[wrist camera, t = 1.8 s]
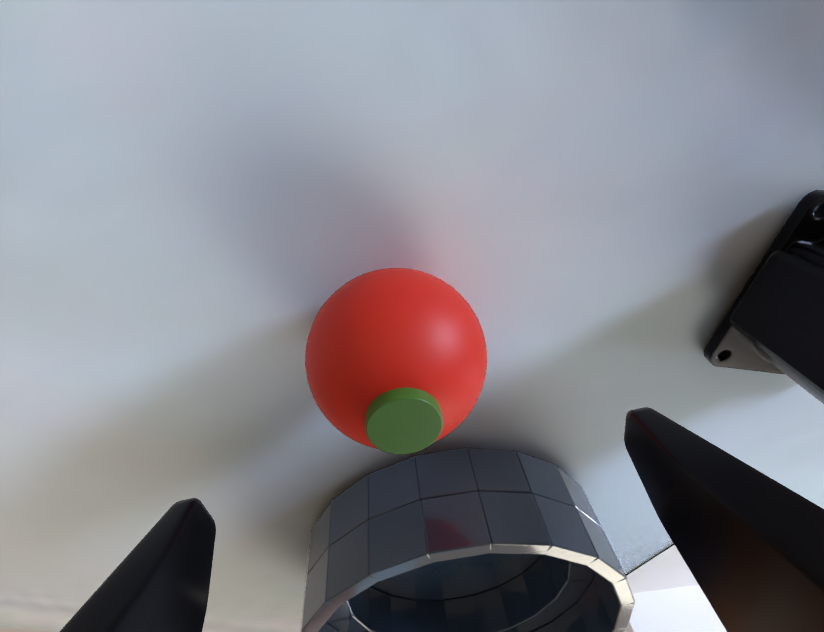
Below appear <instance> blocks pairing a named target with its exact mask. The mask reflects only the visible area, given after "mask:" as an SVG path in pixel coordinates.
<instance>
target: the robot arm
mask: <svg viewBox="0 0 824 632" xmlns="http://www.w3.org/2000/svg"><path fill="white" fill-rule="evenodd" d="M818 206H819V207H818ZM817 207H818V208H817ZM816 208H817V209H816ZM815 210H816V211H815ZM704 357H705V358H706V359H707V360H708V361H709V362H710V363H712V364H713V365H715V366H719V367H728V368H736V369H745V370H753V371H762V372H770V373H779V374H786V375H787V376H789V377H790V378H791V379H792V380H794V381H795V382H796V383H797V384H799V385H800V386H801V387H803V388H804V389H805V390H806V391H808V392H809V393H810V394H812V395H813V396H814V397H815V398H817V399H818V400H819V401H821V402H822V403H823V404H824V190H816V191H813V192H811V193H809V194H808V195H806V196H805V197H803V199H802V200H801V201H800V202H799V203H798V205H797V207H796V208H795V210H794V211H793V213H792V214H791V216H790V217H789V219H788V221H787V222H786V224H785V225H784V227H783V228H782V230H781V231H780V233H779V234H778V236H777V238H776V239H775V241H774V242H773V244H772V245H771V247H770V248H769V250H768V251H767V253H766V255H765V256H764V258H763V259H762V261H761V262H760V264H759V265H758V267H757V268H756V270H755V272H754V273H753V275H752V276H751V278H750V279H749V281H748V282H747V284H746V286H745V287H744V289H743V290H742V292H741V293H740V295H739V296H738V298H737V299H736V301H735V303H734V304H733V306H732V307H731V309H730V310H729V312H728V313H727V315H726V316H725V318H724V320H723V321H722V323H721V324H720V326H719V327H718V329H717V330H716V332H715V333H714V335H713V337H712V338H711V340H710V341H709V343H708V344H707V346H706V347H705V350H704ZM624 441H625V446H626V449H627V451H628V453H629V455H630V457H631V460H632V462H633V464H634V466H635V468H636V470H637V472H638V475H639V477H640V479H641V481H642V483H643V485H644V487H645V490H646V492H647V494H648V496H649V498H650V500H651V502H652V504H653V507H654V509H655V511H656V513H657V515H658V517H659V519H660V521H661V522H662V524H663V526H664V528H665V529H666V531H667V533H668V535H669V536H670V538H671V540H672V541H673V543H674V545H675V546H676V548H677V550H678V551H679V553H680V555H681V556H682V558H683V560H684V561H685V563H686V564H687V566H688V568H689V569H690V571H691V573H692V574H693V576H694V578H695V579H696V581H697V583H698V584H699V586H700V588H701V589H702V591H703V593H704V594H705V596H706V598H707V599H708V601H709V603H710V604H711V606H712V608H713V609H714V611H715V613H716V614H717V616H718V618H719V619H720V621H721V623H722V624H723V626H724V628H725V629H726V631H727V632H824V509H822V508H821V507H819V506H817V505H816V504H814V503H812V502H810V501H809V500H807V499H805V498H804V497H802V496H800V495H799V494H797V493H795V492H793V491H792V490H790V489H788V488H787V487H785V486H783V485H781V484H780V483H778V482H776V481H775V480H773V479H771V478H769V477H768V476H766V475H764V474H763V473H761V472H759V471H758V470H756V469H754V468H752V467H751V466H749V465H747V464H746V463H744V462H742V461H740V460H739V459H737V458H735V457H734V456H732V455H730V454H728V453H727V452H725V451H723V450H722V449H720V448H718V447H716V446H715V445H713V444H711V443H710V442H708V441H706V440H705V439H703V438H701V437H699V436H698V435H696V434H694V433H693V432H691V431H689V430H687V429H686V428H684V427H682V426H681V425H679V424H677V423H675V422H674V421H672V420H670V419H669V418H667V417H665V416H664V415H662V414H660V413H658V412H657V411H655V410H653V409H651V408H648V407H645V408H639V409H634V410H630V411H629V412H628V413H627V416H626V425H625V434H624ZM215 534H216V526H215V522H214V520H213V518H212V517H211V515H210V514H209V512H208V511H207V510H206V508H205V507H204V505H203V504H202V502H201V501H200V500H199V499H197V498H192V499H187V500H182V501H178V502H176V503H175V504H174V505H173V506H172V507H171V508H170V509H169V510H168V511H167V512H166V513H165V515H164V516H163V517H162V518H161V519H160V520H159V521H158V522H157V523H156V525H155V526H154V527H153V528H152V529H151V530H150V531H149V532H148V534H147V535H146V536H145V537H144V538H143V539H142V540H141V541H140V542H139V544H138V545H137V546H136V547H135V548H134V549H133V550H132V551H131V553H130V554H129V555H128V556H127V557H126V558H125V559H124V560H123V561H122V563H121V564H120V565H119V566H118V567H117V568H116V569H115V570H114V572H113V573H112V574H111V575H110V576H109V577H108V578H107V579H106V580H105V582H104V583H103V584H102V585H101V586H100V587H99V588H98V589H97V591H96V592H95V593H94V594H93V595H92V596H91V597H90V598H89V599H88V601H87V602H86V603H85V604H84V605H83V606H82V607H81V608H80V610H79V611H78V612H77V613H76V614H75V615H74V616H73V617H72V618H71V620H70V621H69V622H68V623H67V624H66V625H65V626H64V627H63V629H62V630H61V631H60V632H202V628H203V623H204V618H205V613H206V608H207V601H208V594H209V585H210V577H211V568H212V560H213V551H214V543H215Z"/></svg>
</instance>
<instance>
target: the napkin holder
mask: <svg viewBox="0 0 824 632" xmlns="http://www.w3.org/2000/svg"><path fill="white" fill-rule="evenodd" d="M626 577H627V580H628V583H629V585H630V588H631V591H632V594H633V596H634V599H635V605H634V608H633V611H632V615H631V618H630V621H629V625H628V627H627V629H626V630H625V631H624V632H727V631H726V629H725V628H724V626H723V624H722V623H721V621H720V619H719V618H718V616H717V614H716V613H715V611H714V609H713V608H712V606H711V604H710V603H709V601H708V599H707V598H706V596H705V594H704V593H703V591H702V589H701V588H700V586H699V584H698V583H697V581H696V579H695V578H694V576H693V574H692V573H691V571H690V569H689V568H688V566H687V564H686V563H685V561H684V560H683V558H682V556H681V555H680V553H679V551H678V550H677V548H676V546H675V545H673V546H672V547H670V548H669V549H667V550H666V551H664V552H662V553H661V554H659V555H658V556H656V557H655V558H653V559H652V560H650V561H648V562H647V563H645V564H644V565H642V566H641V567H639V568H638V569H636V570H634V571H633V572H631V573H630V574H628V575H627V576H626Z"/></svg>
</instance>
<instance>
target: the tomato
mask: <svg viewBox="0 0 824 632" xmlns="http://www.w3.org/2000/svg"><path fill="white" fill-rule="evenodd" d="M305 366H306V373H307V379H308V384H309V387H310V390H311V392H312V395H313V397H314V399H315V401H316V403H317V405H318V407H319V408H320V410H321V411H322V413H323V414H324V415H325V417H326V418H327V419H328V420H329V421H330V422H331V423H332V424H333V425H334V426H335V427H336V428H337V429H338V430H339V431H341V432H342V433H343V434H344V435H346V436H348V437H349V438H351V439H353V440H355V441H357V442H359V443H361V444H364V445H366V446H369V447H372V448H377V449H380V450H382V451H384V452H387V453H392V454H411V453H415V452H418V451H421V450H423V449H425V448H427V447H429V446H430V445H431V444H433V443H434V442H435V441H437V440H439V439H441V438H443V437H444V436H446V435H447V434H449V433H450V432H451V431H453V430H454V429H455V428H456V427H457V426H458V425H459V424H460V423H461V422H463V420H464V419H465V418H466V417H467V415H468V414H469V413H470V411H471V410H472V408H473V407H474V405H475V403H476V402H477V400H478V397H479V395H480V393H481V390H482V387H483V384H484V380H485V375H486V367H487V351H486V343H485V338H484V334H483V331H482V328H481V325H480V323H479V320H478V318H477V317H476V315H475V313H474V311H473V310H472V308H471V306H470V305H469V304H468V303H467V301H466V300H465V299H464V298H463V297H462V296H461V295H460V294H459V293H458V292H457V291H456V290H455V289H454V288H453V287H451V286H450V285H448V284H447V283H445V282H444V281H442V280H440V279H438V278H436V277H434V276H432V275H430V274H427V273H424V272H421V271H417V270H413V269H405V268H387V269H381V270H376V271H372V272H369V273H365V274H363V275H361V276H358V277H356V278H354V279H352V280H351V281H349V282H347V283H346V284H344V285H343V286H342V287H341V288H339V289H338V290H337V291H336V292H335V293H334V294H333V295H332V296H331V297H330V298H329V299H328V300H327V301H326V302H325V304H324V305H323V306H322V308H321V309H320V311H319V312H318V314H317V316H316V318H315V320H314V321H313V324H312V327H311V330H310V333H309V336H308V340H307V345H306V355H305Z"/></svg>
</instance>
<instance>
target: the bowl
mask: <svg viewBox="0 0 824 632" xmlns="http://www.w3.org/2000/svg"><path fill="white" fill-rule="evenodd" d="M634 605H635V599H634V596H633V594H632V591H631V588H630V585H629V583H628V580H627V577H626V575H625V573H624V571H623V569H622V567H621V565H620V563H619V561H618V559H617V557H616V555H615V553H614V551H613V549H612V547H611V545H610V543H609V541H608V539H607V537H606V535H605V533H604V531H603V529H602V527H601V525H600V523H599V521H598V519H597V517H596V515H595V513H594V511H593V509H592V507H591V505H590V503H589V501H588V499H587V497H586V495H585V493H584V491H583V489H582V487H581V486H580V485H579V484H578V483H577V482H575V481H574V480H573V479H572V478H571V477H570V476H568V475H567V474H566V473H565V472H564V471H562V470H561V469H560V468H559V467H558V466H556V465H555V464H552V463H550V462H547V461H544V460H541V459H538V458H535V457H532V456H530V455H527V454H524V453H521V452H518V451H516V452H515V451H504V450H490V449H475V448H468V449H467V448H461V449H455V450H448V451H442V452H435V453H429V454H423V455H416V456H415V457H411V458H408V459H406V460H403V461H401V462H398V463H396V464H393V465H391V466H388V467H385V468H383V469H380V470H378V471H375V472H373V473H370V474H369V475H366V476H365V477H363V478H362V479H360V480H359V481H358V482H356V483H355V484H353V485H352V486H351V487H349V488H348V489H347V490H345V491H344V492H342V493H341V494H340V495H338V496H337V497H336V498H334V499H333V501H331V503H330V504H329V506H328V507H327V509H326V510H325V511H324V513H323V514H322V516H321V517H320V519H319V520H318V521H317V523H316V524H315V526H314V527H313V529H312V532H311V539H310V546H309V553H308V562H307V571H306V581H305V590H304V601H303V610H302V619H301V629H300V632H624V631H625V630H626V629H627V627H628V625H629V621H630V618H631V615H632V611H633V608H634Z"/></svg>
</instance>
